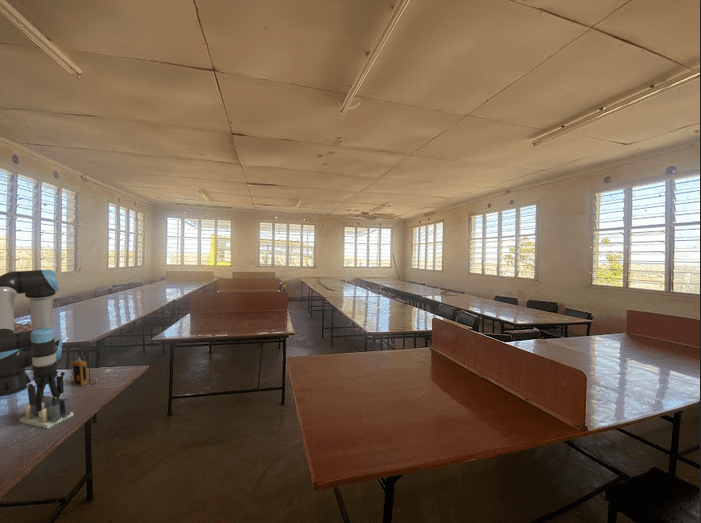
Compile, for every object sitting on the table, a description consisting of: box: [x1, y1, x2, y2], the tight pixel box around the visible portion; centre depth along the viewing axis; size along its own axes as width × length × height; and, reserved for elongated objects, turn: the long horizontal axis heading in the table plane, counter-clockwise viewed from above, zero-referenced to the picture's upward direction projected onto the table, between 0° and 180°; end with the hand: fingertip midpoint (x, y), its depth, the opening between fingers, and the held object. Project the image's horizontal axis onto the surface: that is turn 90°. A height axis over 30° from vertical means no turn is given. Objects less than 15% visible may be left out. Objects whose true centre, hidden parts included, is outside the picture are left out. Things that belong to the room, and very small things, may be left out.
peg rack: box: [19, 396, 74, 430], centre depth 139 cm, size 17×10×8 cm, turn 76°
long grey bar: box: [29, 395, 71, 422], centre depth 138 cm, size 17×6×7 cm, turn 75°
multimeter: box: [69, 349, 98, 387], centre depth 174 cm, size 15×10×20 cm
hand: (48, 413), depth 139 cm, fingers closed on long grey bar, 4 cm apart
